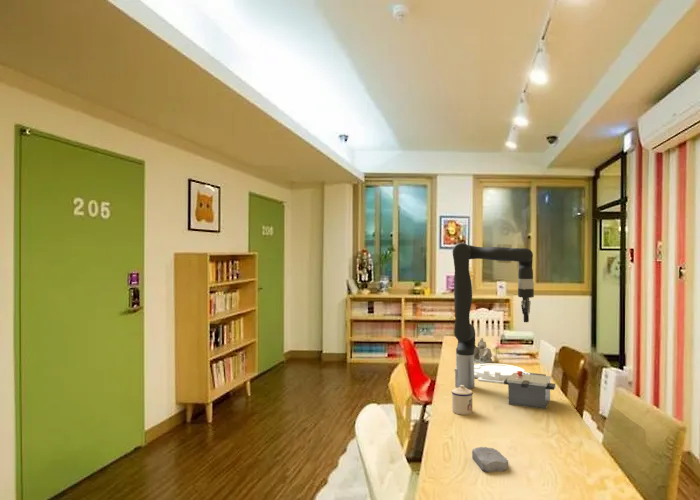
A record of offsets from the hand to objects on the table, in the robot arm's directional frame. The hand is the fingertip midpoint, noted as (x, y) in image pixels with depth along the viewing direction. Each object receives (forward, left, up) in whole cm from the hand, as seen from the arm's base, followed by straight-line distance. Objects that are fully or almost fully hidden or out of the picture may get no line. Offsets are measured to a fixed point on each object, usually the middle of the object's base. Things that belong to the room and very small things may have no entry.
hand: (526, 322), depth 249 cm
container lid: (-21, +28, -36) cm, 50 cm away
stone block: (+4, -96, -36) cm, 102 cm away
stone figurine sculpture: (-39, +60, -35) cm, 80 cm away
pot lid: (+4, -21, -25) cm, 33 cm away
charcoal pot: (+4, -18, -35) cm, 40 cm away
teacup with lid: (-20, -45, -35) cm, 61 cm away
